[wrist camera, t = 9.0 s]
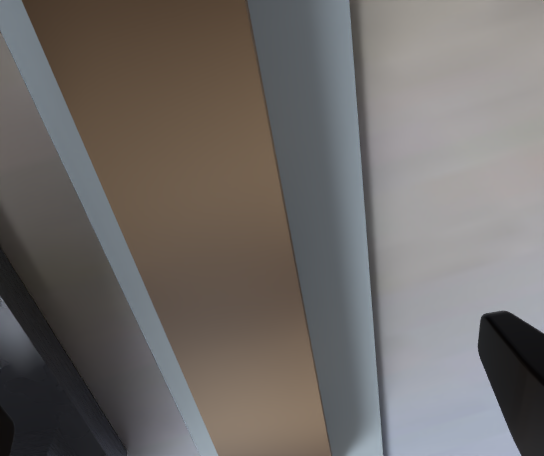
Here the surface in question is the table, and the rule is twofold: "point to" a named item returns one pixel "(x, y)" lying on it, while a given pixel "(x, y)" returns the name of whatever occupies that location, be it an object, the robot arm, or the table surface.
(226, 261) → the walnut bar
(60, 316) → the table surface
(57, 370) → the dark grey u-shaped stand
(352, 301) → the blue-grey mat
